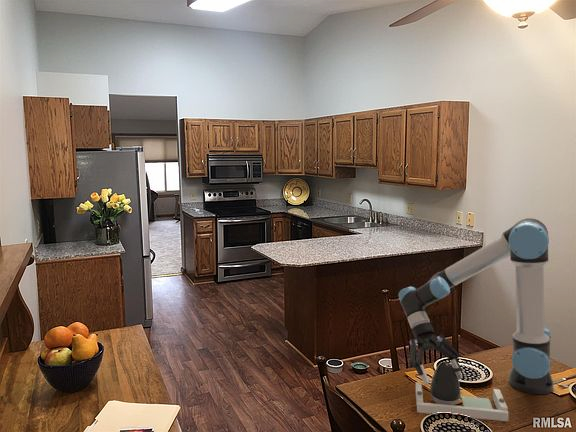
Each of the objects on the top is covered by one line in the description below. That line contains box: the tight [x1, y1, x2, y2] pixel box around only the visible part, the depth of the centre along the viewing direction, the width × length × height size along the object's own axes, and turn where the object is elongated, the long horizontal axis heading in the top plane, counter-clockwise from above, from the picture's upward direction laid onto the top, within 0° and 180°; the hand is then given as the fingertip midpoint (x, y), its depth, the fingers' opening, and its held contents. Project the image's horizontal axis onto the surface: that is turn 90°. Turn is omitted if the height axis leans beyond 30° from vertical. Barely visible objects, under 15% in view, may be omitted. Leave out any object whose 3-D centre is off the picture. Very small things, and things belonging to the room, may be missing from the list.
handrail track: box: [415, 381, 510, 422], centre depth 162 cm, size 29×14×5 cm, turn 77°
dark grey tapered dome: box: [430, 361, 462, 406], centre depth 163 cm, size 10×10×15 cm
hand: (443, 381), depth 163 cm, fingers open, 13 cm apart
